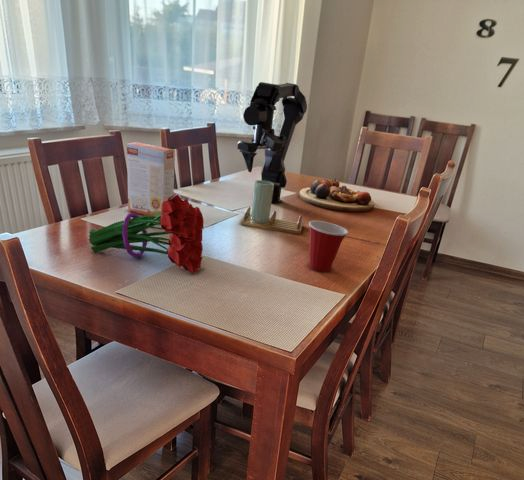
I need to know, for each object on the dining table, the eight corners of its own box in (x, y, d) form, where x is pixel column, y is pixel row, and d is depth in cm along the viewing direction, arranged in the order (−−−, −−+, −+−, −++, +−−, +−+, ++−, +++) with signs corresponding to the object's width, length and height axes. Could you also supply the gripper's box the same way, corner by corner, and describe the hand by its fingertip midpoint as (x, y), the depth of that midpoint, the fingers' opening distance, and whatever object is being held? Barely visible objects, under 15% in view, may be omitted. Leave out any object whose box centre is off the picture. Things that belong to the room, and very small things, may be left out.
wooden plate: (389, 211, 201) (394, 191, 197) (333, 215, 184) (337, 193, 180) (338, 190, 223) (342, 172, 219) (284, 192, 206) (287, 173, 201)
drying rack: (246, 216, 168) (247, 205, 166) (302, 226, 167) (304, 214, 164) (241, 224, 159) (242, 212, 157) (300, 234, 158) (302, 222, 156)
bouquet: (111, 262, 135) (213, 260, 128) (80, 283, 120) (193, 282, 114) (93, 190, 125) (201, 183, 119) (57, 204, 111) (178, 197, 105)
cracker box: (174, 217, 157) (176, 149, 146) (163, 220, 152) (164, 151, 142) (138, 207, 161) (138, 141, 151) (127, 210, 156) (126, 142, 146)
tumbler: (252, 216, 166) (257, 179, 159) (270, 219, 165) (275, 182, 159) (249, 221, 160) (253, 182, 154) (267, 224, 160) (272, 185, 153)
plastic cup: (346, 275, 131) (355, 233, 125) (309, 275, 128) (318, 231, 122) (330, 260, 140) (338, 220, 134) (296, 260, 136) (303, 218, 130)
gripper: (262, 128, 155) (256, 178, 163) (298, 128, 167) (291, 175, 175) (238, 122, 161) (234, 170, 169) (275, 123, 173) (269, 168, 181)
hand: (258, 171), depth 173 cm, fingers open, 9 cm apart
